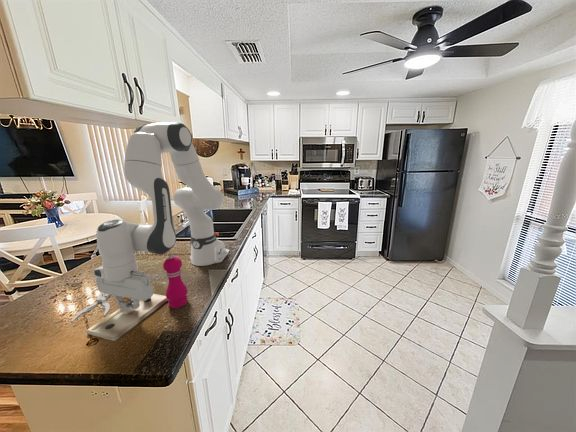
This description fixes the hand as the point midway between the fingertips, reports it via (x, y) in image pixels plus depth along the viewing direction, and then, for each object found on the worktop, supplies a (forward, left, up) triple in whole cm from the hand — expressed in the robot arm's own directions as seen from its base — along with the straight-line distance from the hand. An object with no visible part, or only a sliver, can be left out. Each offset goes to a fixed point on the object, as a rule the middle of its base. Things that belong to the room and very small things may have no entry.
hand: (129, 306), depth 77 cm
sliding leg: (0, 0, -2) cm, 2 cm away
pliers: (-1, -17, -4) cm, 18 cm away
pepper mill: (-10, +11, -4) cm, 15 cm away
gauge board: (0, 0, -4) cm, 4 cm away
